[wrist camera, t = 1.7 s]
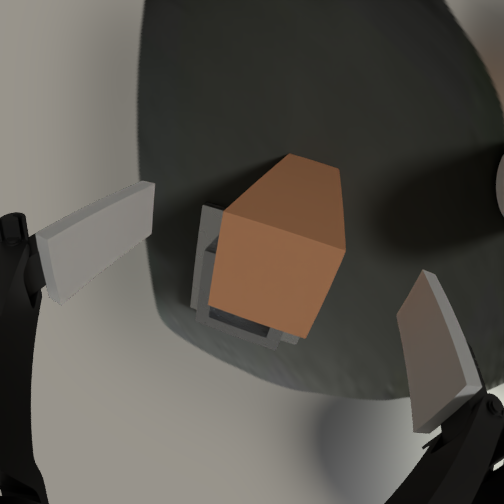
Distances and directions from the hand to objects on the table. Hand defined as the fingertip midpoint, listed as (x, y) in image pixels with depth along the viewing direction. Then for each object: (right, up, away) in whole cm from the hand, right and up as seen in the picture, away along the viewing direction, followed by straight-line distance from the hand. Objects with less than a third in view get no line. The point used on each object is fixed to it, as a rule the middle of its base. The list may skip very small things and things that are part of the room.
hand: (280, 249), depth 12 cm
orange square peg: (+3, +5, +9) cm, 11 cm away
